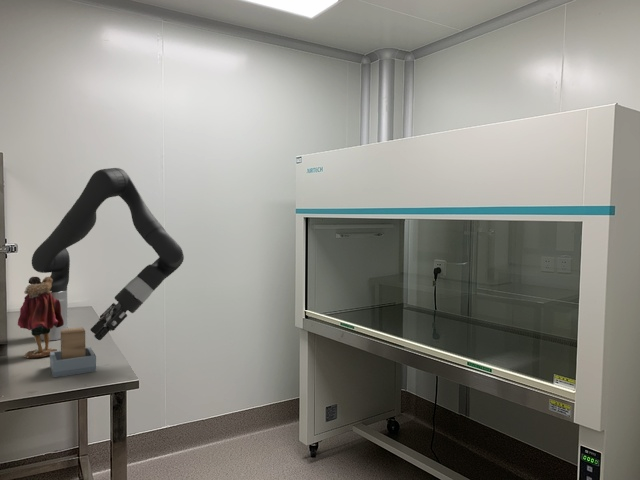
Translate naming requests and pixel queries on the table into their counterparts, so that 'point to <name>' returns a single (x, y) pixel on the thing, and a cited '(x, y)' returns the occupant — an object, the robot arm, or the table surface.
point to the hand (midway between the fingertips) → (94, 335)
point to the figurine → (40, 314)
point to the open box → (72, 363)
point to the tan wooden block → (72, 343)
